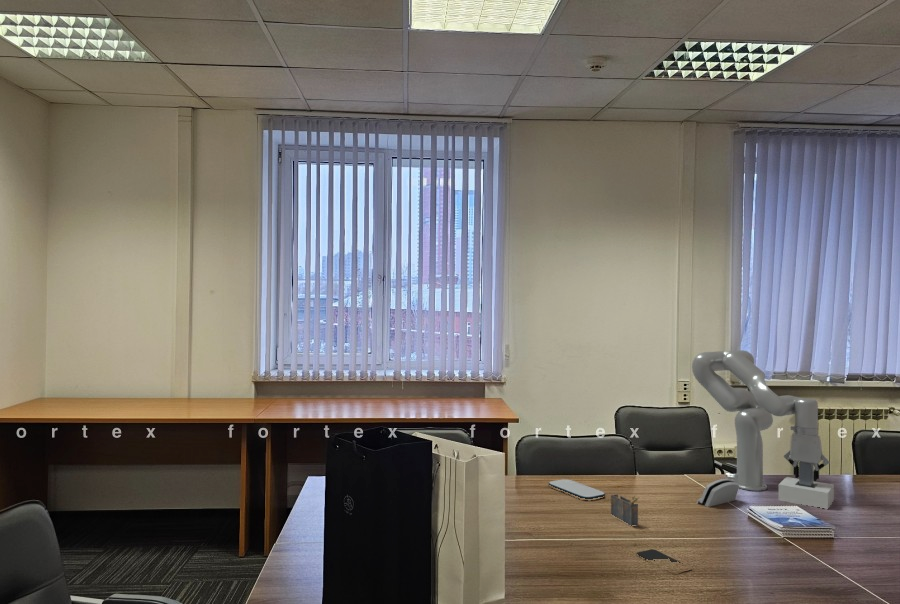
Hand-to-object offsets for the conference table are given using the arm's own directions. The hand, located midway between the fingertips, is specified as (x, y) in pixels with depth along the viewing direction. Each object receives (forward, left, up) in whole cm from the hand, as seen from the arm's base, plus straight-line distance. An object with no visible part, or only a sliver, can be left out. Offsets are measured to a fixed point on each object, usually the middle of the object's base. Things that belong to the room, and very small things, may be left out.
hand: (806, 478), depth 229 cm
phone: (-20, -92, -9) cm, 95 cm away
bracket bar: (0, 0, -8) cm, 8 cm away
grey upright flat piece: (-43, -67, -9) cm, 80 cm away
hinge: (-24, -25, -9) cm, 36 cm away
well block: (0, 0, -8) cm, 8 cm away
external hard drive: (-71, -48, -9) cm, 86 cm away
